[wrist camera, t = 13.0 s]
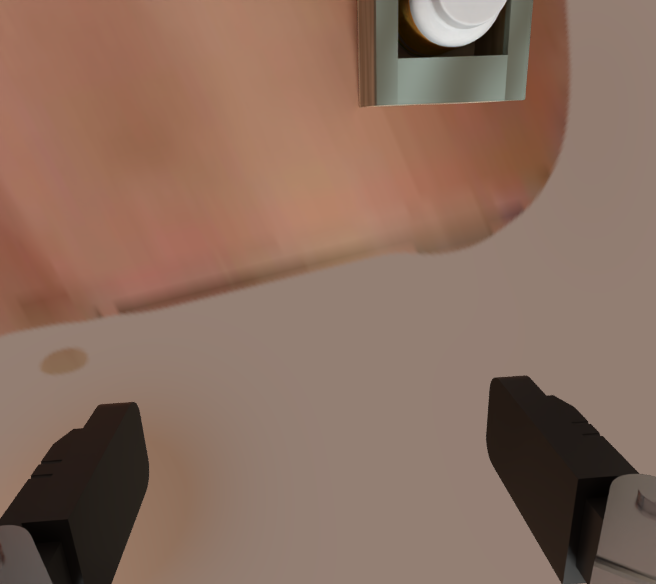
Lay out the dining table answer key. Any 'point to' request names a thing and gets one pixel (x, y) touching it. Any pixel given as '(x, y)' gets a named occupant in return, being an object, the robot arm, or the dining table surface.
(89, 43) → the dining table surface
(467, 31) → the supplement bottle
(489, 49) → the birch box
